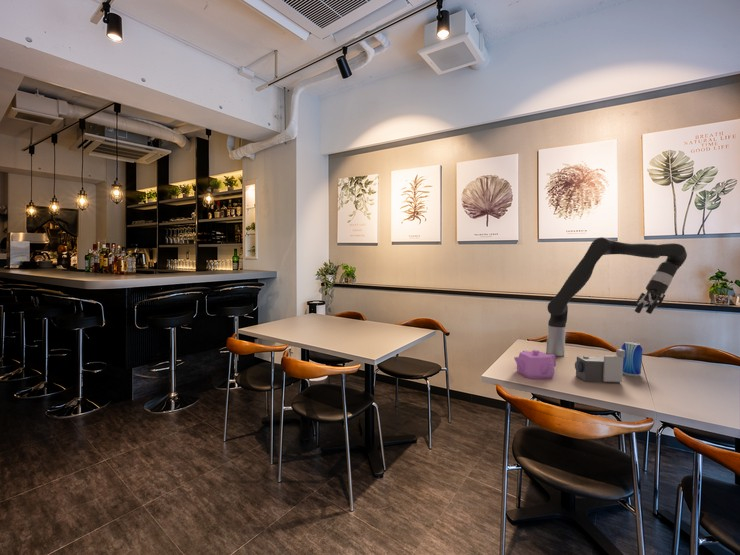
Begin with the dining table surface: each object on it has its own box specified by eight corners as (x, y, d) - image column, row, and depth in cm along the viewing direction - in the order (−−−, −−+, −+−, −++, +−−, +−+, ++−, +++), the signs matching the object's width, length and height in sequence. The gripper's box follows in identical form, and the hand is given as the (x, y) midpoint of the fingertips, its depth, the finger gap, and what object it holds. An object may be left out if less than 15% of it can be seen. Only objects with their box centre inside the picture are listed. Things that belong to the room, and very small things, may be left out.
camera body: (581, 381, 166) (582, 359, 165) (572, 375, 174) (573, 354, 174) (620, 383, 165) (621, 360, 164) (609, 377, 173) (610, 355, 172)
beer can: (621, 370, 184) (623, 340, 183) (642, 374, 178) (644, 343, 177) (618, 374, 178) (620, 342, 177) (639, 378, 172) (641, 346, 171)
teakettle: (555, 373, 178) (556, 349, 177) (551, 383, 164) (552, 357, 163) (520, 367, 188) (520, 344, 187) (512, 376, 173) (513, 351, 173)
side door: (605, 382, 163) (607, 350, 162) (601, 379, 166) (603, 348, 165) (623, 382, 163) (625, 350, 162) (619, 380, 166) (621, 349, 165)
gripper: (642, 280, 176) (626, 308, 176) (661, 278, 162) (644, 309, 162) (656, 287, 175) (640, 316, 175) (678, 286, 161) (660, 317, 161)
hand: (642, 312), depth 169 cm, fingers open, 8 cm apart
